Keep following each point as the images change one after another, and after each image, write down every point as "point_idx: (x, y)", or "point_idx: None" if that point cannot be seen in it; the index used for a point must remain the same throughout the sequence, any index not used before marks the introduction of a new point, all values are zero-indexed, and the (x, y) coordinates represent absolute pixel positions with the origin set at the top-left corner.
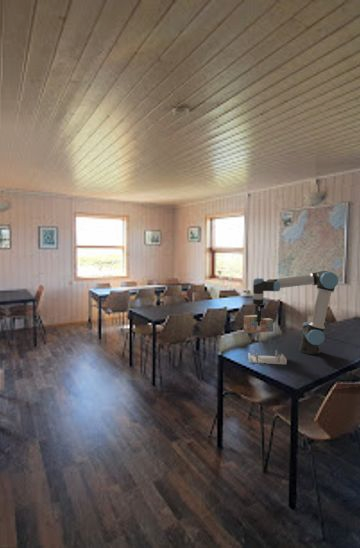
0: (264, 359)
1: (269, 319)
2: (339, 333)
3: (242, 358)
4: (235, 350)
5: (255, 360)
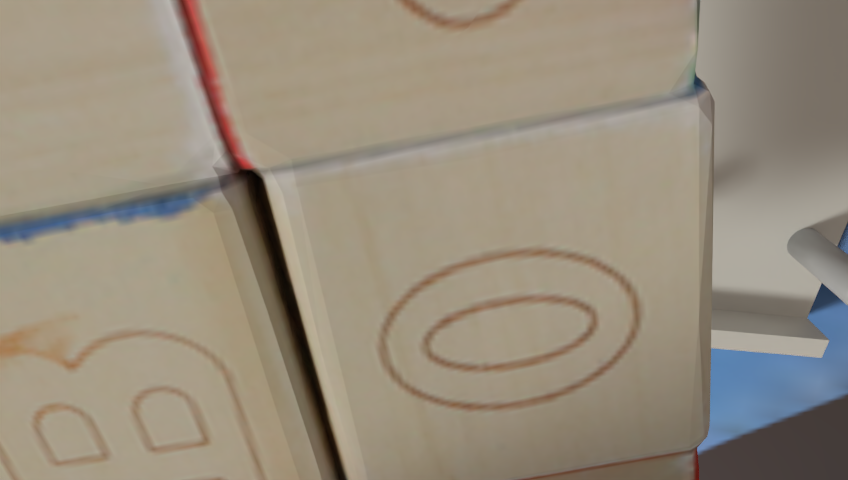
0: (781, 119)
1: (528, 43)
2: None
3: None
4: None
5: (791, 261)
